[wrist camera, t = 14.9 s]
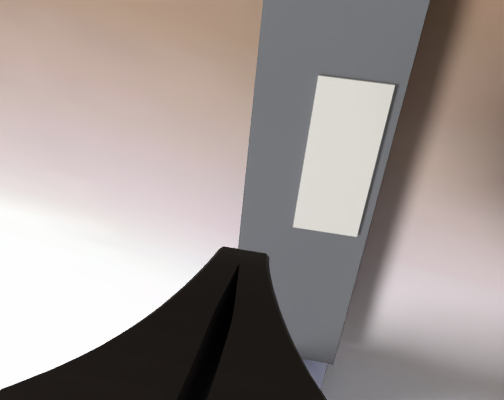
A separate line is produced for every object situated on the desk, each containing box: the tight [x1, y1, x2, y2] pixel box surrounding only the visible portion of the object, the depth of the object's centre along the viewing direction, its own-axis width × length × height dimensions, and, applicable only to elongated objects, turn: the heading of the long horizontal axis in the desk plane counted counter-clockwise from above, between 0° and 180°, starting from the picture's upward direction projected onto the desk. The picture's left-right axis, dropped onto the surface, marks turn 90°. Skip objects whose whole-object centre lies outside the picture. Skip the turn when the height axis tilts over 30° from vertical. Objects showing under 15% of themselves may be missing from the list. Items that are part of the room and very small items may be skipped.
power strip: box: [238, 0, 430, 364], centre depth 19 cm, size 24×6×2 cm, turn 174°
